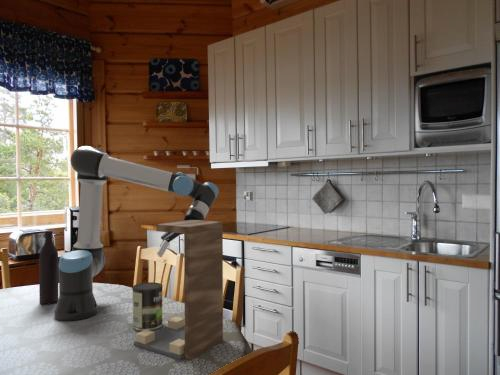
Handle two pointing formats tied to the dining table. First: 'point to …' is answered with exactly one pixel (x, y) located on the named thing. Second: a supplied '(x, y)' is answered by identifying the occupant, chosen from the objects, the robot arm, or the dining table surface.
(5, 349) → the dining table surface
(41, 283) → the wine bottle
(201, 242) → the walnut shelf
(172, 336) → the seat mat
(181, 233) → the robot arm
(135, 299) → the coffee can
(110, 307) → the dining table surface
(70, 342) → the dining table surface
